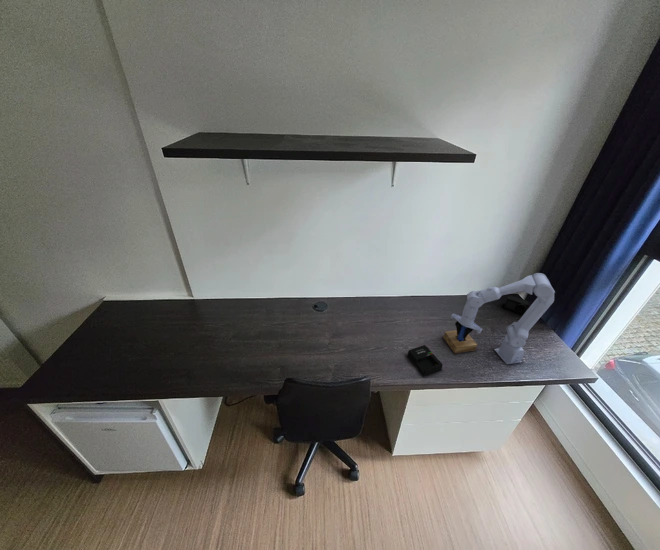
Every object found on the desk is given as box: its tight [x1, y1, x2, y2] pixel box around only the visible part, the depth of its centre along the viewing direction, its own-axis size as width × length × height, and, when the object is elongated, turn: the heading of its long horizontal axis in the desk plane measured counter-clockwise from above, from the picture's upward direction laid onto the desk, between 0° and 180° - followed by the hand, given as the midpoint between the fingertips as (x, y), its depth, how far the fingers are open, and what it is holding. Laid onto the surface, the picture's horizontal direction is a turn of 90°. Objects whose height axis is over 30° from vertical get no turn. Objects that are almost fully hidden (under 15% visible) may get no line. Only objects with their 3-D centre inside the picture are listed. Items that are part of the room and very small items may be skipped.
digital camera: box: [503, 295, 530, 315], centre depth 168 cm, size 10×5×7 cm, turn 55°
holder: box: [442, 329, 478, 354], centre depth 145 cm, size 11×11×4 cm
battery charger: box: [407, 344, 443, 377], centre depth 134 cm, size 13×10×4 cm
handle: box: [457, 325, 468, 341], centre depth 142 cm, size 3×3×9 cm
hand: (461, 335), depth 143 cm, fingers closed on handle, 3 cm apart
